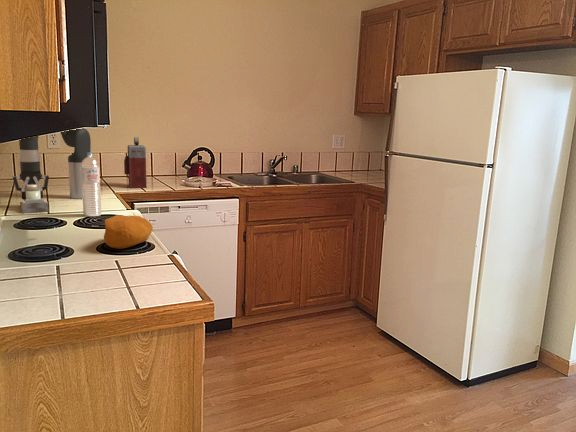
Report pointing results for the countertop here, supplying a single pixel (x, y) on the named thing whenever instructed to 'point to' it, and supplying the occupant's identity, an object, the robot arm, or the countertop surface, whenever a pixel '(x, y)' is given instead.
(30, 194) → the sage jar
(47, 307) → the countertop surface
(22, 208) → the lane
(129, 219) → the bread
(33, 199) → the plate
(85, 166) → the water bottle
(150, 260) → the countertop surface
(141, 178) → the red grey square bottle
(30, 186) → the terracotta jar
